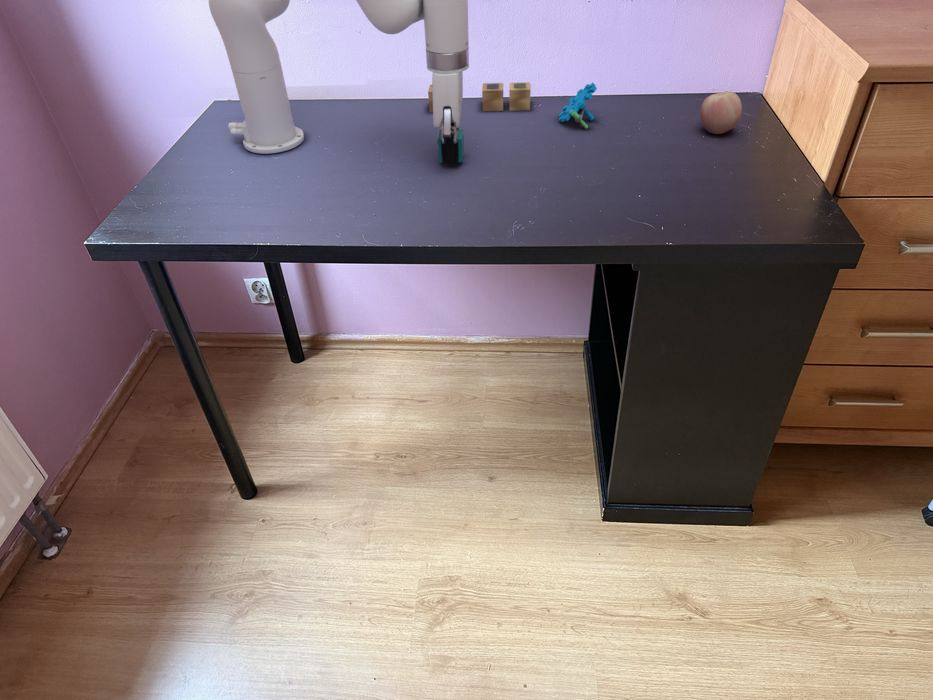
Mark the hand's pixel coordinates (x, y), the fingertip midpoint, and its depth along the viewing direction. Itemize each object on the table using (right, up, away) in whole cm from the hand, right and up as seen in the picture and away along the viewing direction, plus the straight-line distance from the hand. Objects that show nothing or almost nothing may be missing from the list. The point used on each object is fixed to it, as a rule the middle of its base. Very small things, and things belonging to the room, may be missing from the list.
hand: (451, 155), depth 128 cm
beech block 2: (+9, +17, +21) cm, 29 cm away
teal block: (0, 0, 0) cm, 0 cm away
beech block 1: (-3, +17, +22) cm, 28 cm away
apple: (+54, +6, +6) cm, 55 cm away
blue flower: (+27, +11, +14) cm, 32 cm away
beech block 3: (+15, +17, +21) cm, 31 cm away
